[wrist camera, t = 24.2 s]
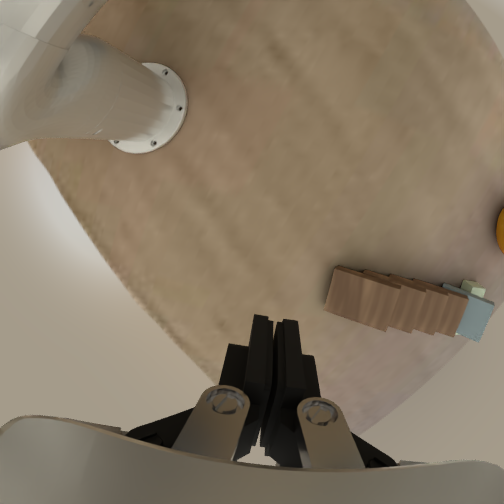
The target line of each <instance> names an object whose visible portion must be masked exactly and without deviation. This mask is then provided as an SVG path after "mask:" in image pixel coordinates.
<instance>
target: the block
mask: <svg viewBox="0 0 504 504" xmlns="http://www.w3.org/2000/svg"><path fill="white" fill-rule="evenodd" d="M460 289H462V290H464V291H467V292H469V293H472V294H474V295H477V296H479V297H482V298H483V296H484V293H485V290H486V289H485V288H484V287H482V286H481V285H480V284H478V283H477V282H474V281H468V280H463V282H462V285H461V288H460ZM455 334H457V335H460V334H458V333H455Z"/></svg>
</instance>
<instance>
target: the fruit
mask: <svg viewBox="0 0 504 504" xmlns="http://www.w3.org/2000/svg"><path fill="white" fill-rule="evenodd" d="M496 237H497V242H498V245H499V247H500V249H501V251H502V252H503V253H504V208H503V209H502V211H501V213H500V215H499V218H498V221H497V228H496Z"/></svg>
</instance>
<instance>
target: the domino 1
mask: <svg viewBox="0 0 504 504" xmlns="http://www.w3.org/2000/svg"><path fill="white" fill-rule="evenodd" d="M400 289H401V286H400V285H397V284H394V283H391V282H388V281H385V280H382V279H379V278H376V277H372V276H369V275H366V274H363V273H360V272H357V271H354V270H351V269H347V268H344V267H341V266H337V267H336V268H335V269H334V273H333V277H332V280H331V284H330V288H329V292H328V296H327V300H326V303H325V307H324V310H325V311H328V312H330V313H333V314H336V315H339V316H342V317H344V318H347V319H350V320H353V321H356V322H359V323H361V324H364V325H367V326H370V327H373V328H376V329H379V330H382V331H384V332H386V330H387V327H388V324H389V321H390V319H391V316H392V313H393V310H394V307H395V304H396V301H397V299H398V295H399V292H400Z"/></svg>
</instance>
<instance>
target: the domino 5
mask: <svg viewBox="0 0 504 504" xmlns="http://www.w3.org/2000/svg"><path fill="white" fill-rule="evenodd" d="M442 288H445V289H448V290H451V291H454V292H457V293H461V294H464V295H467V296H468V299H469V301H468V304H467V306H466V309H465V311H464V314H463V316H462V319H461V321H460V324H459V326H458V329H457V331H456V333H458V334H460V335H462V336H465V337H467V338H469V339H472V340H474V341H476V342H479V341H480V338H481V336H482V334H483V332H484V330H485V327H486V325H487V323H488V320H489V318H490V315H491V313H492V310H493V308H494V302H492V301H489V300H487V299H484V298H482V297H479V296H477V295H474V294H472V293H469V292H467V291H464V290H462V289H459V288H457V287H454V286H452V285H449V284H446V283H444V284H443V286H442Z"/></svg>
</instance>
